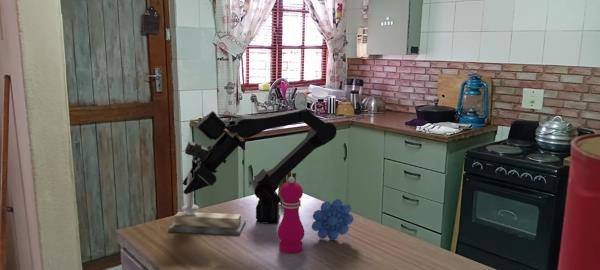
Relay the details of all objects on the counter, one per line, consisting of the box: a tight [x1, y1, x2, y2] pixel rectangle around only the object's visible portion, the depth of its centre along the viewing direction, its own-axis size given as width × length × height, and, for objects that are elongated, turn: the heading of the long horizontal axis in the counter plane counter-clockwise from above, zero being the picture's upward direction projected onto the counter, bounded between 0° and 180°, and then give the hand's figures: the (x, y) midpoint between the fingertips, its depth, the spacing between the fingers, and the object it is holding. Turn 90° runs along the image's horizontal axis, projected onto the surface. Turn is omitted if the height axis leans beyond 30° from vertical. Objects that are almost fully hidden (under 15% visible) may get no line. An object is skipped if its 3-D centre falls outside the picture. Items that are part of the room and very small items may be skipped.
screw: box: [181, 171, 199, 216], centre depth 136 cm, size 13×5×5 cm
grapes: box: [311, 198, 354, 241], centre depth 130 cm, size 12×7×12 cm, turn 85°
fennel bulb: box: [277, 171, 297, 205], centre depth 157 cm, size 6×5×12 cm
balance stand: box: [167, 211, 247, 236], centre depth 137 cm, size 21×9×4 cm, turn 85°
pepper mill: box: [276, 176, 305, 254], centre depth 122 cm, size 7×7×20 cm
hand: (184, 188), depth 135 cm, fingers open, 8 cm apart
